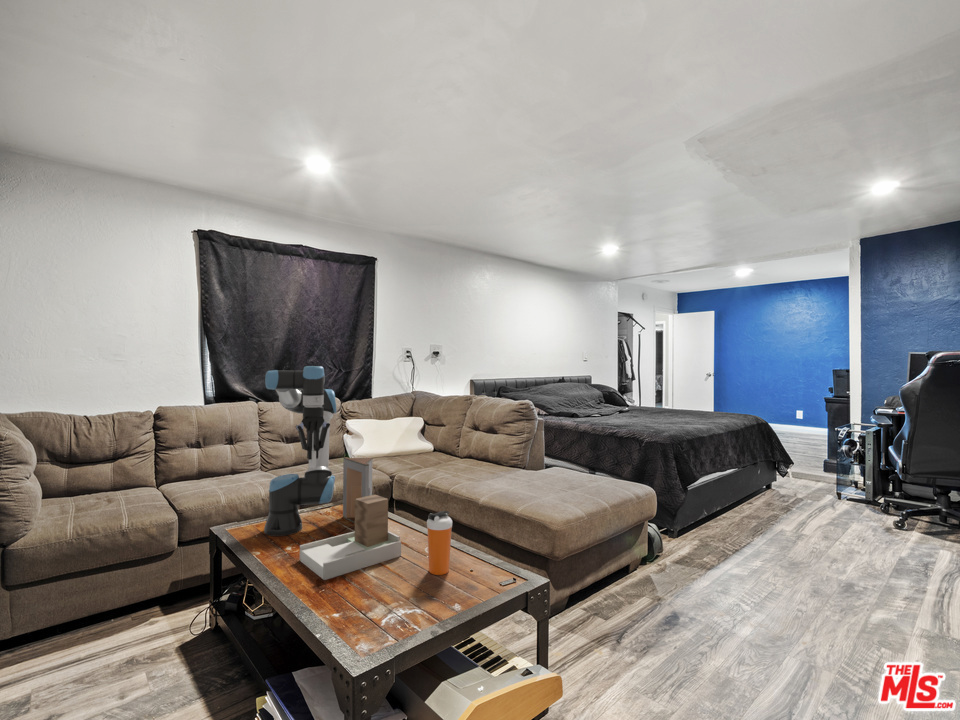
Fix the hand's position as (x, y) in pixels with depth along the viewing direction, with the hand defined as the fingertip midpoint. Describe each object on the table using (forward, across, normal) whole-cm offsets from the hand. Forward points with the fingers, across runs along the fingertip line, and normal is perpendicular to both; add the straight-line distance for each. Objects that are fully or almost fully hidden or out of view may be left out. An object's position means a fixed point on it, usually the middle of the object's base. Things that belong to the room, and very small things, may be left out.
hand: (312, 467), depth 180 cm
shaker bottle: (+32, +26, -46) cm, 62 cm away
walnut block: (+28, +17, -15) cm, 36 cm away
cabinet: (+33, +32, +19) cm, 50 cm away
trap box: (+32, +8, -16) cm, 37 cm away
